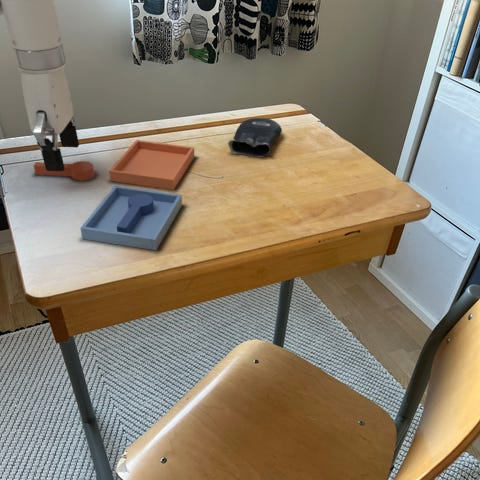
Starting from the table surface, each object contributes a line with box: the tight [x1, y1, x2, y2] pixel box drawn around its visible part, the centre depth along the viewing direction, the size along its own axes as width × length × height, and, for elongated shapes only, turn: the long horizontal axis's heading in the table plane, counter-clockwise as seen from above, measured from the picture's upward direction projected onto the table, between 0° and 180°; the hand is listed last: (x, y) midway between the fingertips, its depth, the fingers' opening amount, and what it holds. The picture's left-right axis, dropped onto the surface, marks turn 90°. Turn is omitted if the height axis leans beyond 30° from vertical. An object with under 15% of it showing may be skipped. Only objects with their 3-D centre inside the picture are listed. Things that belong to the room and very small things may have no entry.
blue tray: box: [79, 185, 183, 251], centre depth 85 cm, size 12×14×2 cm
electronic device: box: [227, 117, 283, 158], centre depth 109 cm, size 9×6×15 cm
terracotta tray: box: [108, 139, 195, 191], centre depth 99 cm, size 12×14×2 cm
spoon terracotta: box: [33, 160, 95, 181], centre depth 96 cm, size 11×4×2 cm, turn 88°
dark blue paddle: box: [117, 194, 154, 234], centre depth 84 cm, size 11×4×2 cm, turn 168°
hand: (63, 158), depth 94 cm, fingers open, 9 cm apart
